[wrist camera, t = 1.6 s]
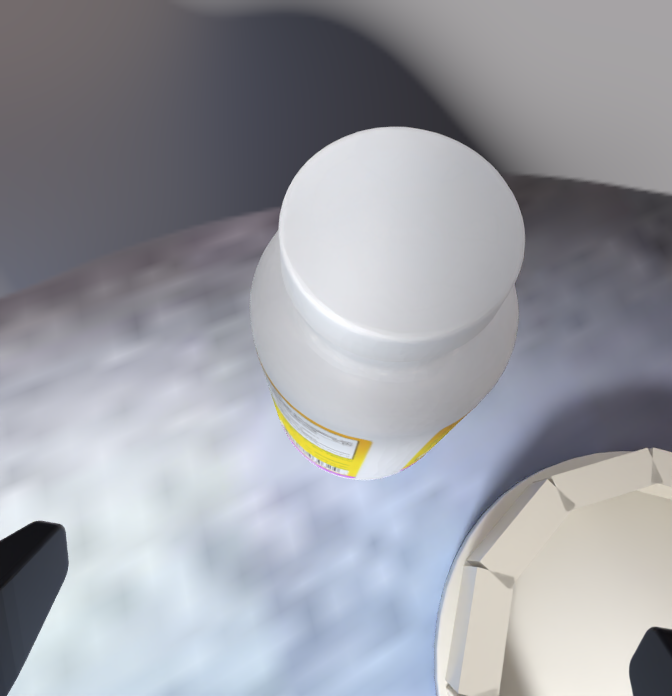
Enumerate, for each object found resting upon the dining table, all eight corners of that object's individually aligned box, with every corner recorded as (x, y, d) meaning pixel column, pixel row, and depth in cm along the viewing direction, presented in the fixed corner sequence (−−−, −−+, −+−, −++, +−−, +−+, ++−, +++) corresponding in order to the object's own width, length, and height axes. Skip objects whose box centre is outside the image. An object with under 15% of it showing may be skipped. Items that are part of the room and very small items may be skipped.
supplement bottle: (430, 317, 24) (544, 78, 12) (454, 475, 22) (626, 380, 9) (272, 328, 23) (222, 92, 11) (280, 489, 21) (229, 411, 9)
